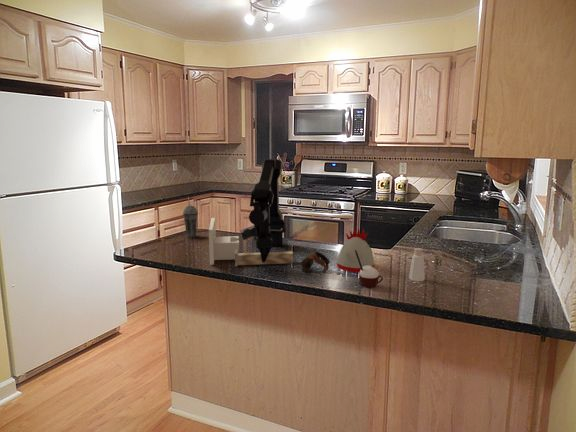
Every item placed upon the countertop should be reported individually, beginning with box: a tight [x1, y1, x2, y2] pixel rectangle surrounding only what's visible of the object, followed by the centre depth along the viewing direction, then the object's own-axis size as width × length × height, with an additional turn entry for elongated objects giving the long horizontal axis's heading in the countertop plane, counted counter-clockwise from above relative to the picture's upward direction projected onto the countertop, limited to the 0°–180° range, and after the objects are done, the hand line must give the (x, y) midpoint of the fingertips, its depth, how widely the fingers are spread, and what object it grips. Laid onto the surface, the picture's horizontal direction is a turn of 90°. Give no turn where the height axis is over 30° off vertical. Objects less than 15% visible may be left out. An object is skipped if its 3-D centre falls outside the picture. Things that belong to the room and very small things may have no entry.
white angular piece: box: [208, 217, 240, 266], centre depth 174 cm, size 12×24×14 cm, turn 8°
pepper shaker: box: [408, 247, 426, 283], centre depth 146 cm, size 5×5×11 cm
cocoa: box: [355, 250, 383, 288], centre depth 139 cm, size 10×6×12 cm, turn 68°
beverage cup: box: [182, 196, 199, 238], centre depth 208 cm, size 7×7×20 cm
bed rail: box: [234, 250, 294, 268], centre depth 165 cm, size 23×6×5 cm, turn 98°
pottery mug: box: [300, 250, 331, 275], centre depth 154 cm, size 12×10×8 cm
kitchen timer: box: [336, 228, 375, 273], centre depth 160 cm, size 14×14×15 cm
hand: (262, 258), depth 165 cm, fingers open, 9 cm apart
